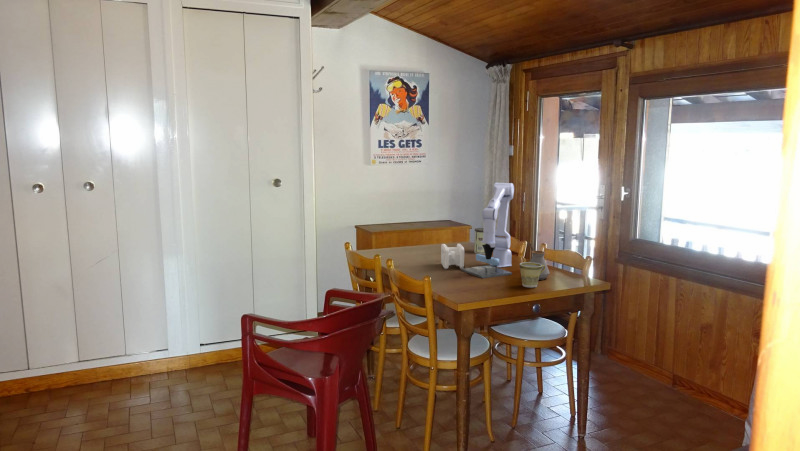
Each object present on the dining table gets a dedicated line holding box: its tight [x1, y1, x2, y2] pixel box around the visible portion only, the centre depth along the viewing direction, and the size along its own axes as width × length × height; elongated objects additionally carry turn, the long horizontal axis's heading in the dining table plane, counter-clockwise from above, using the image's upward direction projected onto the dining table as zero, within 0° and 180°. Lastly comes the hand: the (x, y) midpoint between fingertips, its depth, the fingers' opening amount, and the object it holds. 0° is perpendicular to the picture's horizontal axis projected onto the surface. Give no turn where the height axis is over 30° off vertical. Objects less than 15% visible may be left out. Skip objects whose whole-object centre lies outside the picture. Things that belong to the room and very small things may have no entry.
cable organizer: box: [440, 243, 465, 270], centre depth 293 cm, size 15×11×12 cm
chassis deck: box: [460, 267, 513, 279], centre depth 282 cm, size 18×18×1 cm
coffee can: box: [473, 227, 486, 255], centre depth 332 cm, size 10×10×14 cm
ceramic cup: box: [519, 261, 545, 289], centre depth 257 cm, size 13×10×10 cm
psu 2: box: [470, 265, 485, 274], centre depth 277 cm, size 5×5×3 cm
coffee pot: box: [526, 241, 550, 281], centre depth 276 cm, size 21×12×15 cm, turn 3°
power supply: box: [480, 264, 495, 273], centre depth 280 cm, size 5×5×3 cm
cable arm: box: [475, 253, 499, 266], centre depth 286 cm, size 16×4×3 cm, turn 32°
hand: (488, 259), depth 279 cm, fingers closed
